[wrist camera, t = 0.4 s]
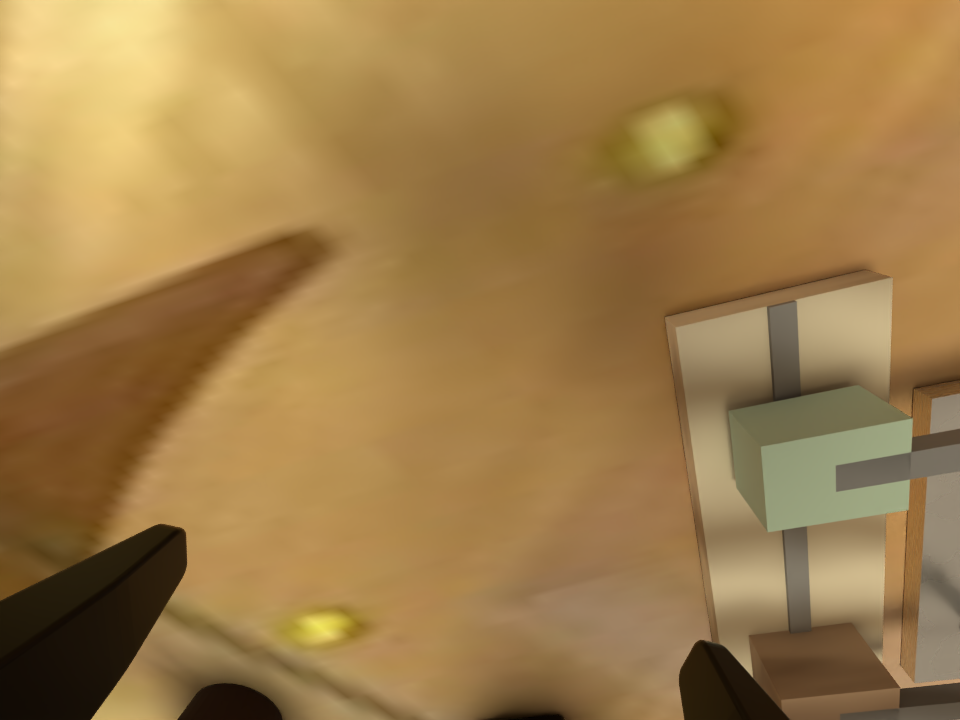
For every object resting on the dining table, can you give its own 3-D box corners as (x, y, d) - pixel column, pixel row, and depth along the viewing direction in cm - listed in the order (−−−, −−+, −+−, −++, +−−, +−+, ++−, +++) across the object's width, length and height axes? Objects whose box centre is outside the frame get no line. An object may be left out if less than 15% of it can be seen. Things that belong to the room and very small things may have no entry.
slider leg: (1035, 429, 20) (1128, 475, 17) (732, 482, 21) (767, 532, 18) (1048, 341, 18) (1152, 373, 15) (724, 406, 20) (760, 446, 17)
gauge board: (969, 657, 26) (1061, 756, 22) (718, 685, 29) (756, 780, 24) (1019, 233, 18) (1181, 252, 14) (664, 317, 20) (705, 356, 16)
